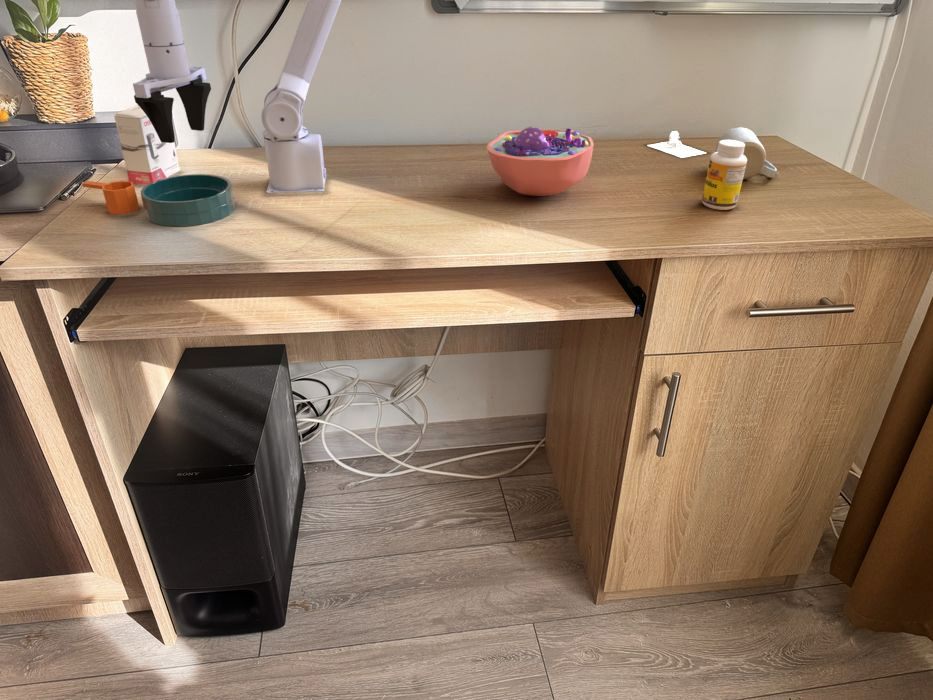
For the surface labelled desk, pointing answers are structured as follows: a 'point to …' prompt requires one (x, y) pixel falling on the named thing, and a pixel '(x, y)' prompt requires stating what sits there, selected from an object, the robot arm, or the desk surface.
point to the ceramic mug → (750, 152)
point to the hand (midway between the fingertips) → (183, 135)
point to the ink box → (144, 148)
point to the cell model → (541, 160)
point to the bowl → (188, 200)
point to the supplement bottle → (725, 175)
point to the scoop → (117, 196)
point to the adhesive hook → (676, 147)
